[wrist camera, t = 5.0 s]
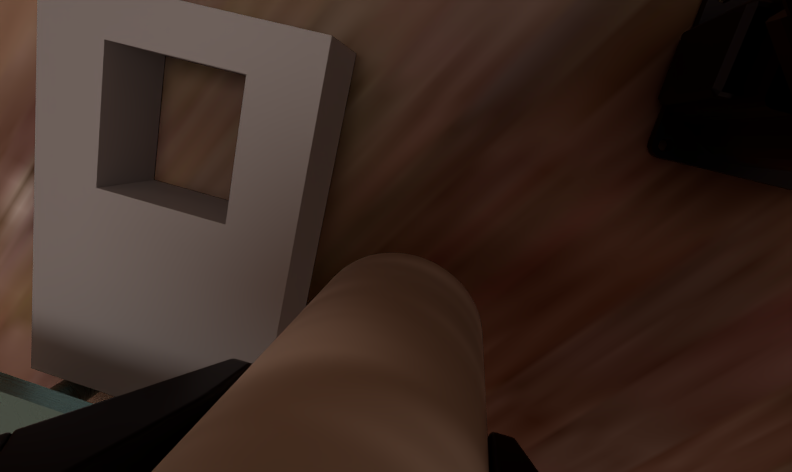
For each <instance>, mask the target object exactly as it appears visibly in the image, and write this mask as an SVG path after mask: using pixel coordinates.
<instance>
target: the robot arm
mask: <svg viewBox="0 0 792 472" xmlns="http://www.w3.org/2000/svg"><path fill="white" fill-rule="evenodd" d="M658 99H659V101H660V104H661V105H662V108H661V111H660V113H659V116H658V119H657V121H656V124H655V126H654V129H653V132H652V134H651V137H650V139H649V142H648V150H649V152H650V154H651V155H653V156H655V157H657V158H662V159H666V160H670V161H674V162H678V163H682V164H686V165H690V166H695V167H699V168H703V169H707V170H711V171H715V172H719V173H723V174H728V175H732V176H736V177H740V178H744V179H748V180H752V181H756V182H761V183H765V184H769V185H773V186H777V187H781V188H785V189H789V190H792V0H726V1H725V2H724V3H721V2H719V1H718V0H703V2H702V5H701V7H700V10H699V13H698V15H697V18H696V20H695V23H694V25H693V28H692V29H690V30H688V31H686V32H685V33H683V35H682V37H681V40H680V42H679V45H678V48H677V50H676V53H675V56H674V58H673V61H672V63H671V66H670V69H669V71H668V74H667V76H666V79H665V82H664V84H663V87H662V90H661V92H660V95H659V98H658ZM663 139H665V140H667V142H668V147H667V148H666V149H665V150H664V151H661V150H660V149H659V148H658V145H659V142H660V141H661V140H663ZM251 365H252V363H249V362H246V361H242V360H239V359H235V358H232V359H228V360H225V361H222V362H219V363H216V364H213V365H210V366H207V367H204V368H201V369H198V370H195V371H192V372H189V373H186V374H183V375H180V376H177V377H174V378H171V379H168V380H165V381H162V382H159V383H156V384H153V385H150V386H147V387H144V388H141V389H137V390H134V391H131V392H128V393H125V394H122V395H119V396H116V397H113V398H110V399H107V400H104V401H101V402H98V403H95V404H92V405H89V406H86V407H83V408H80V409H77V410H74V411H71V412H68V413H65V414H62V415H59V416H56V417H53V418H49V419H46V420H43V421H40V422H37V423H34V424H31V425H28V426H25V427H22V428H19V429H16V430H15V431H14V432H13V433H12V434H11V433H10V432H7V433H4V434H1V435H0V472H151V471H152V470H153V469H154V468H155V467H156V466H157V465H158V464H159V463H160V462H161V461H162V460H163V459H164V458H165V457H166V455H167V454H168V453H169V452H170V451H171V450H172V449H173V448H174V447H175V446H176V445H177V444H178V443H179V442H180V441H181V439H182V438H183V437H184V436H185V435H186V434H187V433H188V432H189V431H190V430H191V429H192V428H193V427H194V426H195V425H196V423H197V422H198V421H199V420H200V419H201V418H202V417H203V416H204V415H205V414H206V413H207V412H208V411H209V410H210V409H211V407H212V406H213V405H214V404H215V403H216V402H217V401H218V400H219V399H220V398H221V397H222V396H223V395H224V394H225V393H226V391H227V390H228V389H229V388H230V387H231V386H232V385H233V384H234V383H235V382H236V381H237V380H238V379H239V378H240V377H241V375H242V374H243V373H244V372H245V371H246V370H247V369H248V368H249V367H250V366H251ZM488 457H489V472H538V470H537V469H536V468H535V466H534V465H533V463H532V462H531V461H530V459H529V458H528V456H527V455H526V454H525V452H524V451H523V449H522V448H521V447H520V445H519V444H518V442H517V441H516V440H515V439H514V438H513V437H510V436H506V435H503V434H499V433H495V432H492V433H491V434H490V435H489V436H488Z"/></svg>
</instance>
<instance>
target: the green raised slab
mask: <svg viewBox="0 0 792 472" xmlns="http://www.w3.org/2000/svg"><path fill="white" fill-rule="evenodd" d="M99 392H100V391H97V390H94V389H91V388H88V387H85V386H83V385H80V384H77V383H74V382H71V381H68V380H63V381H61V382H60V383H58V384H56V385H55V386H53V387H51V388H50V389H48V388H45V387H42V386H40V385H37V384H34V383H31V382H28V381H25V380H22V379H19V378H16V377H13V376H10V375H7V374H4V373H2V372H0V435H1V434H4V433H7V432H10V433H11V434H12V433H13V432H14V431H15V430H16V429H19V428H22V427H25V426H28V425H31V424H34V423H37V422H40V421H43V420H46V419H49V418H53V417H56V416H59V415H62V414H65V413H68V412H71V411H74V410H77V409H80V408H83V407H86V406H89V405H92V403H89V402H86V401H87V400H89V399H90V398H91V397H93V396H94V395H96V394H97V393H99Z"/></svg>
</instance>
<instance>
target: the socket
mask: <svg viewBox="0 0 792 472" xmlns="http://www.w3.org/2000/svg"><path fill="white" fill-rule="evenodd" d="M165 56H169V57H173V58H177V59H181V60H185V61H189V62H193V63H197V64H201V65H205V66H209V67H213V68H218V69H222V70H226V71H230V72H234V73H238V74H242V75H246V81H245V88H244V95H243V102H242V109H241V117H240V124H239V131H238V138H237V145H236V153H235V160H234V167H233V174H232V182H231V189H230V196H229V201H228V200H225V199H221V198H217V197H214V196H210V195H207V194H203V193H199V192H196V191H192V190H189V189H185V188H182V187H178V186H174V185H171V184H167V183H164V182H160V181H157V180H154V173H155V162H156V151H157V140H158V129H159V118H160V107H161V96H162V85H163V74H164V63H165ZM355 57H356V53H354V52H353V51H352V50H350V49H349V48H348V47H346V46H345V45H344V44H342V43H341V42H340V41H338V40H337V39H336V38H334V37H333V36H331V35H327V34H323V33H318V32H314V31H310V30H305V29H301V28H297V27H292V26H288V25H284V24H279V23H275V22H271V21H267V20H262V19H258V18H254V17H249V16H245V15H241V14H236V13H232V12H228V11H223V10H219V9H215V8H211V7H206V6H202V5H198V4H193V3H189V2H185V1H180V0H38V2H37V60H36V119H35V177H34V236H33V294H32V352H31V368H32V369H35V370H38V371H41V372H44V373H47V374H50V375H53V376H56V377H59V378H62V379H65V380H68V381H71V382H74V383H77V384H80V385H83V386H85V387H88V388H91V389H94V390H97V391H100V392H103V393H106V394H109V395H112V396H115V397H116V396H119V395H122V394H125V393H128V392H131V391H134V390H137V389H141V388H144V387H147V386H150V385H153V384H156V383H159V382H162V381H165V380H168V379H171V378H174V377H177V376H180V375H183V374H186V373H189V372H192V371H195V370H198V369H201V368H204V367H207V366H210V365H213V364H216V363H219V362H222V361H225V360H228V359H232V358H235V359H239V360H242V361H246V362H249V363H252V364H253V363H254V362H255V361H256V359H257V358H258V357H259V356H260V355H261V354H262V353H263V352H264V351H265V350H266V349H267V348H268V347H269V346H270V345H271V343H272V342H273V341H274V340H275V339H276V338H277V337H278V336H279V335H280V334H281V333H282V332H283V331H284V330H285V329H286V327H287V326H288V325H289V324H290V323H291V322H292V321H293V320H294V319H295V318H296V317H297V316H298V315H299V314H300V313H301V311H302V310H303V309H304V308H305V307H306V303H307V298H308V293H309V288H310V283H311V278H312V273H313V268H314V263H315V258H316V253H317V248H318V243H319V238H320V233H321V228H322V223H323V218H324V213H325V208H326V203H327V198H328V193H329V188H330V183H331V177H332V172H333V167H334V162H335V157H336V152H337V147H338V142H339V137H340V132H341V127H342V122H343V117H344V112H345V107H346V102H347V97H348V92H349V87H350V82H351V77H352V72H353V67H354V62H355Z"/></svg>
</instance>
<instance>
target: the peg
mask: <svg viewBox="0 0 792 472" xmlns="http://www.w3.org/2000/svg"><path fill="white" fill-rule="evenodd" d="M151 472H489V457H488V437H487V416H486V396H485V375H484V355H483V335H482V325H481V320H480V316H479V313H478V310H477V308H476V305H475V303H474V301H473V299H472V298H471V296H470V294H469V293H468V291H467V290H466V289H465V287H464V286H463V285H462V284H461V283H460V282H459V281H458V280H457V279H456V278H455V277H454V276H453V275H452V274H451V273H449V272H448V271H447V270H446V269H444V268H442V267H441V266H439V265H437V264H436V263H434V262H431V261H429V260H427V259H425V258H422V257H418V256H415V255H410V254H405V253H392V252H391V253H379V254H374V255H369V256H367V257H364V258H361V259H358V260H356V261H354V262H353V263H351V264H349V265H348V266H346V267H345V268H343V269H342V270H341V271H340V272H339V273H337V274H336V275H335V276H334V277H333V278H332V279H331V280H330V282H329V283H328V284H327V285H326V286H325V287H324V288H323V289H322V290H321V291H320V292H319V293H318V294H317V295H316V296H315V298H314V299H313V300H312V301H311V302H310V303H309V304H308V305H307V306H306V307H305V308H304V309H303V310H302V311H301V313H300V314H299V315H298V316H297V317H296V318H295V319H294V320H293V321H292V322H291V323H290V324H289V325H288V326H287V327H286V329H285V330H284V331H283V332H282V333H281V334H280V335H279V336H278V337H277V338H276V339H275V340H274V341H273V342H272V343H271V345H270V346H269V347H268V348H267V349H266V350H265V351H264V352H263V353H262V354H261V355H260V356H259V357H258V358H257V359H256V361H255V362H254V363H253V364H252V365H251V366H250V367H249V368H248V369H247V370H246V371H245V372H244V373H243V374H242V375H241V377H240V378H239V379H238V380H237V381H236V382H235V383H234V384H233V385H232V386H231V387H230V388H229V389H228V390H227V391H226V393H225V394H224V395H223V396H222V397H221V398H220V399H219V400H218V401H217V402H216V403H215V404H214V405H213V406H212V407H211V409H210V410H209V411H208V412H207V413H206V414H205V415H204V416H203V417H202V418H201V419H200V420H199V421H198V422H197V423H196V425H195V426H194V427H193V428H192V429H191V430H190V431H189V432H188V433H187V434H186V435H185V436H184V437H183V438H182V439H181V441H180V442H179V443H178V444H177V445H176V446H175V447H174V448H173V449H172V450H171V451H170V452H169V453H168V454H167V455H166V457H165V458H164V459H163V460H162V461H161V462H160V463H159V464H158V465H157V466H156V467H155V468H154V469H153V470H152V471H151Z"/></svg>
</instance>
